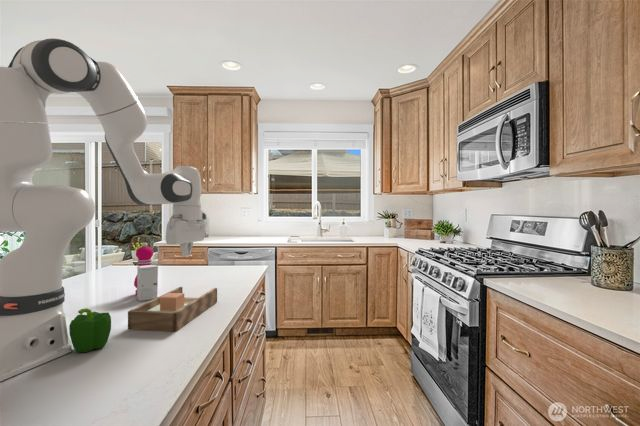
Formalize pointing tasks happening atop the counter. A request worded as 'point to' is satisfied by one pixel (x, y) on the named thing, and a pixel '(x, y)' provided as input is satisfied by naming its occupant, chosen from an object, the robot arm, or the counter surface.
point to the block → (171, 301)
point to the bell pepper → (90, 330)
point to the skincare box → (147, 282)
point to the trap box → (169, 313)
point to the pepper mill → (143, 258)
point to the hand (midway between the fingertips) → (186, 256)
